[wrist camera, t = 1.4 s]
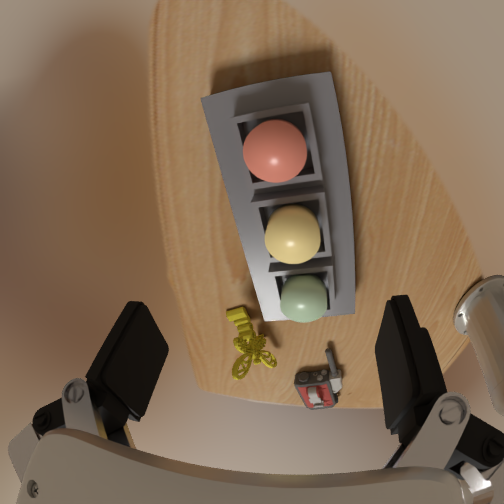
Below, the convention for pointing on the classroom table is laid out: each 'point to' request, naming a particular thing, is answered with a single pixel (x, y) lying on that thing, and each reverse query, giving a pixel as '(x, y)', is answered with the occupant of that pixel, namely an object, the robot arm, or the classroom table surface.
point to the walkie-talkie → (320, 385)
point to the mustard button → (292, 234)
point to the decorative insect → (249, 349)
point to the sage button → (303, 298)
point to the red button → (275, 151)
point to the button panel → (289, 184)
